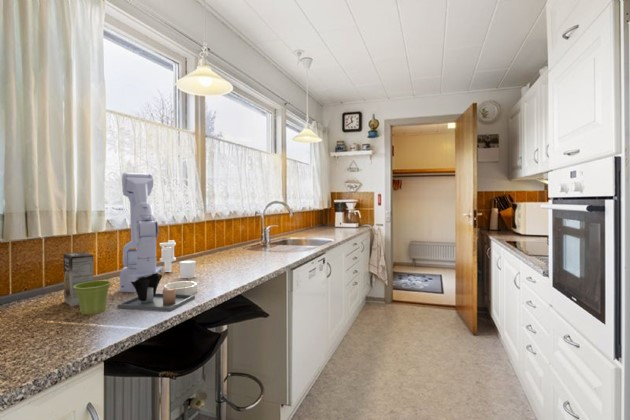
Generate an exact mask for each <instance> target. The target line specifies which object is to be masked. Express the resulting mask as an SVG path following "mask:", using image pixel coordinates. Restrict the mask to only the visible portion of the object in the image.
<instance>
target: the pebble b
mask: <svg viewBox="0 0 630 420" xmlns="http://www.w3.org/2000/svg"><path fill="white" fill-rule="evenodd" d="M162 293H163V305H172V304H175V303H176V289H175V288H166V289H164V288H163V289H162Z"/></svg>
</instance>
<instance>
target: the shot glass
mask: <svg viewBox="0 0 630 420" xmlns="http://www.w3.org/2000/svg"><path fill="white" fill-rule="evenodd" d="M196 265H197V261H196V260H191V259H189V260H182V261H179V270H180V277H181V279H183V278H188V279H193V277H194V278H195V274H196Z"/></svg>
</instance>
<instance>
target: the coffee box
mask: <svg viewBox="0 0 630 420" xmlns="http://www.w3.org/2000/svg"><path fill="white" fill-rule="evenodd" d="M89 281H94V254H91V253H88V252H84V251H83V252H67V253H63V297H64V303H66V304H67V305H68V306H69V307H71V308H72V307H75V306H77V305H79V300H78V295H77V293H76V290H75V289H74V287H73V286H74V285H77V284H80V283H84V282H89ZM79 306H80V305H79Z"/></svg>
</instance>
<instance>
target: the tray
mask: <svg viewBox="0 0 630 420" xmlns="http://www.w3.org/2000/svg"><path fill="white" fill-rule="evenodd" d="M195 297H196V294H191V295H184V294H176V303H175V304H172V305H163V292H161V293H160V292H156V294H155V297H154V301H153V302H152V303H147V304H142V303H141V301H139V298H138V296H135V297H133V298H131V299H128V300H125V301H123V302H121V303H118V304H117V309H132V310H146V311H160V312H161V311H163V312H172V311H174V310H175V309H177V308H179V307H181V306H183V305H185V304H187V303H188V302H190V301H192V300H194V299H195Z"/></svg>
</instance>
